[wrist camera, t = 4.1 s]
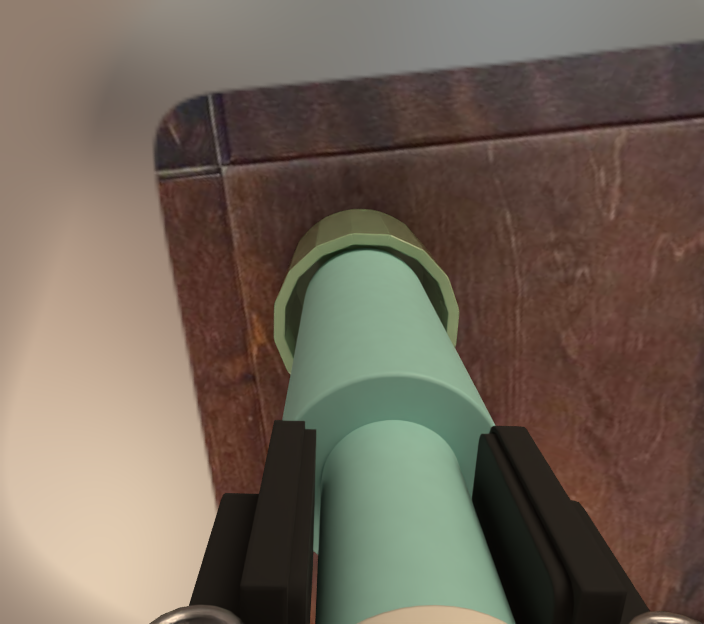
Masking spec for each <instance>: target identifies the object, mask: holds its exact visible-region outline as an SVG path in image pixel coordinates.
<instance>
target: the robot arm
mask: <svg viewBox="0 0 704 624" xmlns="http://www.w3.org/2000/svg"><path fill="white" fill-rule="evenodd" d="M315 469H316V429H305V421H286V420H275V421H274V425H273V429H272V434H271V439H270V444H269V449H268V454H267V458H266V463H265V468H264V473H263V478H262V483H261V487H260V492H259V494H238V493H225V494H224V495H223V497H222V499H221V502H220V505H219V508H218V512H217V515H216V518H215V522H214V525H213V528H212V531H211V535H210V538H209V541H208V545H207V548H206V551H205V554H204V558H203V561H202V564H201V568H200V571H199V574H198V578H197V581H196V584H195V587H194V591H193V594H192V597H191V601H190V604H189V606H187V607H181V608H178V609H175V610H173V611H170V612H168V613H165V614H163V615H161V616H160V617H158V618H157V619H156V620H154V621H153V622H151V623H150V624H310V610H311V591H312V572H313V542H314V506H315ZM472 503H473V505H474V508H475V511H476V514H477V517H478V519H479V522H480V525H481V528H482V531H483V533H484V536H485V539H486V542H487V545H488V547H489V550H490V553H491V556H492V559H493V561H494V564H495V567H496V570H497V573H498V575H499V578H500V581H501V584H502V587H503V589H504V592H505V595H506V598H507V601H508V603H509V606H510V609H511V612H512V615H513V617H514V620H515V623H516V624H703V623H701V622H699V621H696V620H694V619H691V618H689V617H686V616H683V615H680V614H675V613H670V612H664V611H658V612H650V610H649V609H648V607H647V606H646V604H645V603H644V601H643V600H642V598H641V596H640V595H639V593H638V592H637V590H636V589H635V587H634V585H633V584H632V582H631V581H630V579H629V578H628V576H627V575H626V573H625V571H624V570H623V568H622V567H621V565H620V564H619V562H618V561H617V559H616V557H615V556H614V554H613V553H612V551H611V550H610V548H609V547H608V545H607V543H606V542H605V540H604V539H603V537H602V536H601V534H600V533H599V531H598V529H597V528H596V526H595V525H594V523H593V522H592V520H591V518H590V517H589V515H588V514H587V512H586V511H585V509H584V508H583V507H582V505H581V504H580V503H579V502H576V501H571V500H570V499H569V497H568V495H567V494H566V492H565V491H564V489H563V487H562V486H561V484H560V483H559V481H558V479H557V478H556V476H555V475H554V473H553V471H552V470H551V468H550V466H549V465H548V463H547V462H546V460H545V458H544V457H543V455H542V454H541V452H540V450H539V449H538V447H537V445H536V444H535V442H534V441H533V439H532V437H531V436H530V434H529V433H528V431H527V429H526V428H525V427H518V426H492V427H491V429H490V432H489V434H481V435H480V438H479V443H478V451H477V459H476V468H475V476H474V484H473V492H472Z"/></svg>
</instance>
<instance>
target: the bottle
mask: <svg viewBox="0 0 704 624" xmlns="http://www.w3.org/2000/svg"><path fill="white" fill-rule="evenodd" d="M282 420H286V421H305V429H316V469H315V506H314V542H313V551H314V552H315V553H317V554H318V574H317V597H316V621H315V624H516V623H515V620H514V617H513V615H512V612H511V609H510V606H509V603H508V601H507V598H506V595H505V592H504V589H503V587H502V584H501V581H500V578H499V575H498V573H497V570H496V567H495V564H494V561H493V559H492V556H491V553H490V550H489V547H488V545H487V542H486V539H485V536H484V533H483V531H482V528H481V525H480V522H479V519H478V517H477V514H476V511H475V508H474V505H473V503H472V492H473V484H474V476H475V468H476V459H477V451H478V443H479V438H480V435H481V434H489V432H490V429H491V427H492V426H495V424H494V422H493V420H492V418H491V416H490V414H489V413H488V411H487V409H486V407H485V405H484V403H483V401H482V399H481V397H480V395H479V393H478V391H477V390H476V388H475V386H474V384H473V382H472V380H471V378H470V376H469V374H468V372H467V370H466V369H465V367H464V365H463V363H462V361H461V359H460V357H459V355H458V353H457V351H456V349H455V348H454V346H453V344H452V342H451V340H450V338H449V336H448V334H447V332H446V330H445V328H444V327H443V325H442V323H441V321H440V319H439V317H438V315H437V313H436V311H435V309H434V307H433V306H432V304H431V302H430V300H429V298H428V296H427V294H426V292H425V290H424V288H423V286H422V285H421V283H420V281H419V279H418V277H417V276H416V274H415V273H414V271H413V270H412V269H411V267H409V266H408V265H407V264H406V263H405V262H404V261H403V260H401V259H400V258H399V257H397V256H395V255H393V254H391V253H389V252H386V251H383V250H379V249H373V248H357V249H351V250H348V251H344V252H342V253H340V254H337V255H335V256H334V257H332V258H330V259H329V260H328V261H326V262H325V263H324V264H323V265H322V266H321V267H320V268H319V269H318V270H317V271H316V273H315V274H314V275H313V277H312V279H311V281H310V282H309V285H308V287H307V290H306V294H305V299H304V304H303V310H302V315H301V321H300V326H299V332H298V337H297V343H296V348H295V354H294V359H293V365H292V370H291V375H290V381H289V386H288V392H287V397H286V403H285V408H284V414H283V419H282Z"/></svg>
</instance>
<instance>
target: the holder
mask: <svg viewBox="0 0 704 624" xmlns="http://www.w3.org/2000/svg"><path fill="white" fill-rule="evenodd" d="M357 248H373V249H379V250H383V251H386V252H389V253H391V254H393V255H395V256H397V257H399V258H400V259H401V260H403V261H404V262H405V263H406V264H407V265H408V266H409V267H411V269H412V270H413V271H414V273H415V274H416V276H417V277H418V279H419V281H420V283H421V285H422V286H423V288H424V290H425V292H426V294H427V296H428V298H429V300H430V302H431V304H432V306H433V307H434V309H435V311H436V313H437V315H438V317H439V319H440V321H441V323H442V325H443V327H444V328H445V330H446V332H447V334H448V336H449V338H450V340H451V342H452V344H453V346H454V348H455V345H456V340H457V330H458V320H459V308H458V305H457V302H456V299H455V296H454V293H453V290H452V287H451V283H450V280H449V278H448V276H447V275H446V274H445V272H444V271H443V270H442V268H441V267H440V266H439V264H438V263H437V262H436V261H435V259H434V258H433V257H432V255H431V254H430V253H429V251H428V250H427V249H426V248H425V246H424V245H423V244H422V243H421V241H420V240H419V239H418V238H417V237H416V236H415V235H414V233H413V232H412V231H411V230H410V229H409V228H408V227H407V226H406V225H405V224H404V223H402V222H400V221H399V220H397V219H395V218H394V217H392V216H390V215H387V214H385V213H382V212H379V211H375V210H368V209H351V210H345V211H341V212H338V213H334V214H332V215H330V216H328V217H326V218H324V219H322V220H321V221H319V222H318V223H316V224H315V225H314V226H313V227H312V228H310V230H309V231H308V232H307V233H306V234H305V235H304V236H303V237H302V238H301V239H300V241H299V243H298V245H297V247H296V249H295V251H294V254H293V256H292V258H291V261H290V263H289V265H288V268H287V271H286V273H285V276H284V279H283V282H282V284H281V287H280V290H279V292H278V295H277V298H276V301H275V304H274V341H275V344H276V346H277V348H278V351H279V353H280V355H281V358H282V360H283V362H284V365H285V367H286V369H287V371H288V372H289V373H290V374H291V370H292V365H293V359H294V354H295V348H296V343H297V337H298V332H299V326H300V321H301V315H302V310H303V304H304V299H305V294H306V290H307V287H308V285H309V282H310V281H311V279H312V277H313V275H314V274H315V273H316V271H317V270H318V269H319V268H320V267H321V266H322V265H323V264H324V263H325V262H326V261H328V260H329V259H330V258H332V257H334V256H335V255H337V254H340V253H342V252H344V251H348V250H351V249H357Z"/></svg>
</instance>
